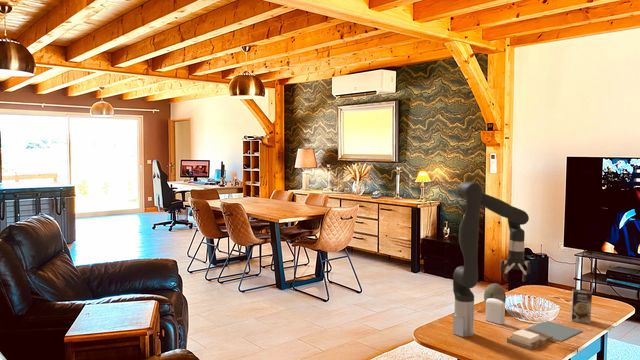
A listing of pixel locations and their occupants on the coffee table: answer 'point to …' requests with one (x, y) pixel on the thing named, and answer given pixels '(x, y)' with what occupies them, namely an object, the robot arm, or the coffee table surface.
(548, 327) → the mat
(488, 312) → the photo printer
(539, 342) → the deck
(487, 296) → the decorative egg
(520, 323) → the coffee table surface
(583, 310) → the coffee box
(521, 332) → the tile
